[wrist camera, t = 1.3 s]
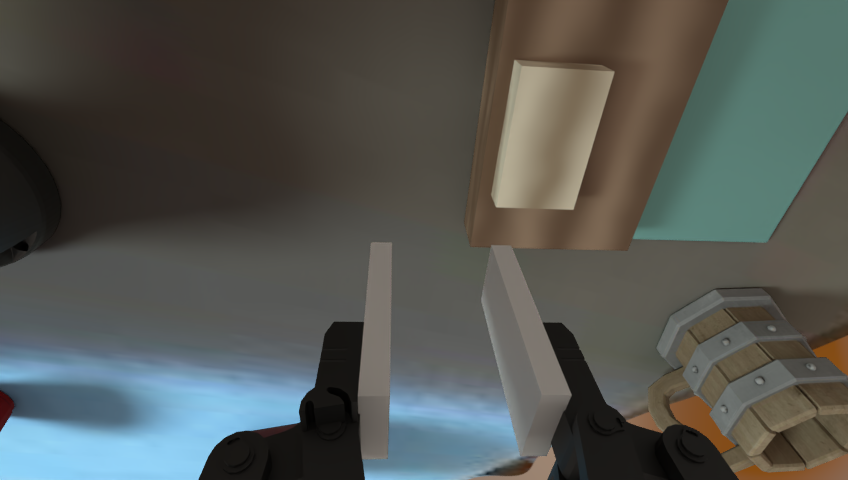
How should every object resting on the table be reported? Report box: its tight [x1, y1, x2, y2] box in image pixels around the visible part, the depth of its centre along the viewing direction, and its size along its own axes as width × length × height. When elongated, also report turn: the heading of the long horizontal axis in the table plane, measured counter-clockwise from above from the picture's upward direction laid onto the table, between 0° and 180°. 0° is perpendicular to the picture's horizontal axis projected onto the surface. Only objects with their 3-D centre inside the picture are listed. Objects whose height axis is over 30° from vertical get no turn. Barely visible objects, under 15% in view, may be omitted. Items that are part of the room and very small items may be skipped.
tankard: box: [648, 288, 848, 473], centre depth 44 cm, size 20×13×15 cm, turn 135°
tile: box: [491, 60, 614, 210], centre depth 30 cm, size 6×10×2 cm, turn 176°
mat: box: [632, 0, 848, 242], centre depth 35 cm, size 16×22×1 cm
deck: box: [464, 0, 729, 251], centre depth 33 cm, size 14×20×4 cm
